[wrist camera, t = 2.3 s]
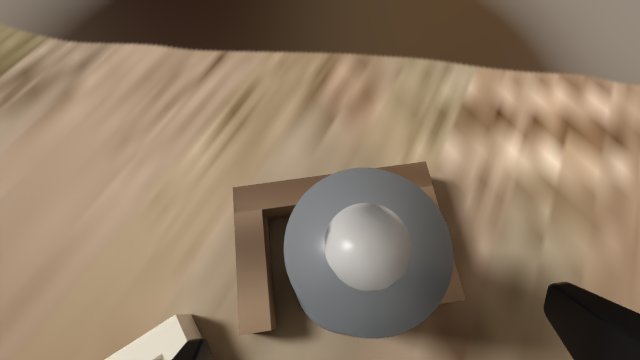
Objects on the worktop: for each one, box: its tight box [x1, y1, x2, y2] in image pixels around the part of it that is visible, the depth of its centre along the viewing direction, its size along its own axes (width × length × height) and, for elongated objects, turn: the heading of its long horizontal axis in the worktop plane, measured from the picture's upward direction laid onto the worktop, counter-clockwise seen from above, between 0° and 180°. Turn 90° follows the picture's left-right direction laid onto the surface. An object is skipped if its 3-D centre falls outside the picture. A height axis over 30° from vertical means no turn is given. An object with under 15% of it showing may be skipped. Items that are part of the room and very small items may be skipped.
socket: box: [233, 162, 466, 335], centre depth 18 cm, size 8×11×2 cm
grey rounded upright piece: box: [284, 168, 454, 338], centre depth 13 cm, size 6×6×10 cm
